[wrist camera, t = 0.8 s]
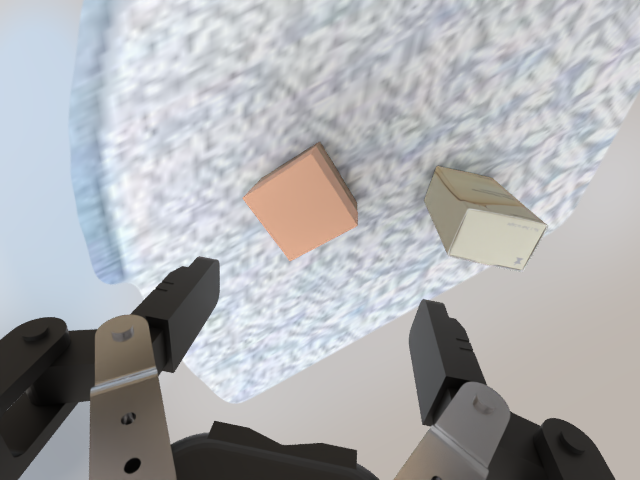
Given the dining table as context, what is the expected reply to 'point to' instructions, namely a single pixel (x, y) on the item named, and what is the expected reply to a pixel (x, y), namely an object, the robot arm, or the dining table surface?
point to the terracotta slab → (302, 205)
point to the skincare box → (482, 220)
